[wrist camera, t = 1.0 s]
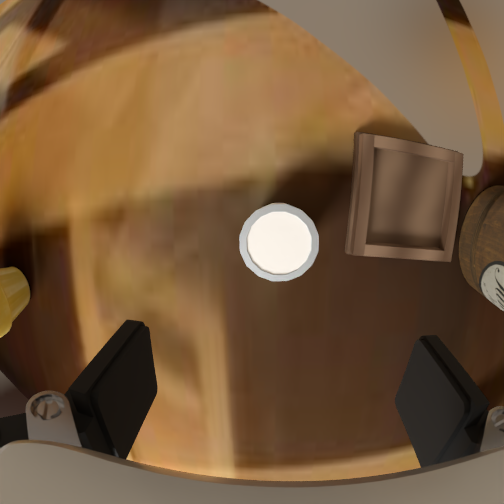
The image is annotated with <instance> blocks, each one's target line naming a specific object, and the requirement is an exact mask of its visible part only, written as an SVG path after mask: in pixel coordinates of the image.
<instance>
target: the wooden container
mask: <svg viewBox="0 0 504 504" xmlns="http://www.w3.org/2000/svg"><path fill="white" fill-rule="evenodd" d="M459 259H460V265H461V269H462V272H463V275H464V277H465V279H466V280H467V282H468V283H469V284H470V285H471V286H472V287H473V288H474V289H475V290H477V291H478V292H479V293H481V294H482V295H483V296H485V297H486V298H487V299H488V300H490V301H491V302H492V303H494V304H495V305H496V306H497V307H499V308H500V309H501V310H503V311H504V186H493V187H490V188H488V189H486V190H484V191H483V192H482V193H481V194H480V195H479V196H478V197H477V198H476V199H475V200H474V202H473V203H472V205H471V206H470V208H469V210H468V212H467V214H466V216H465V219H464V222H463V225H462V229H461V234H460V240H459Z"/></svg>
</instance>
